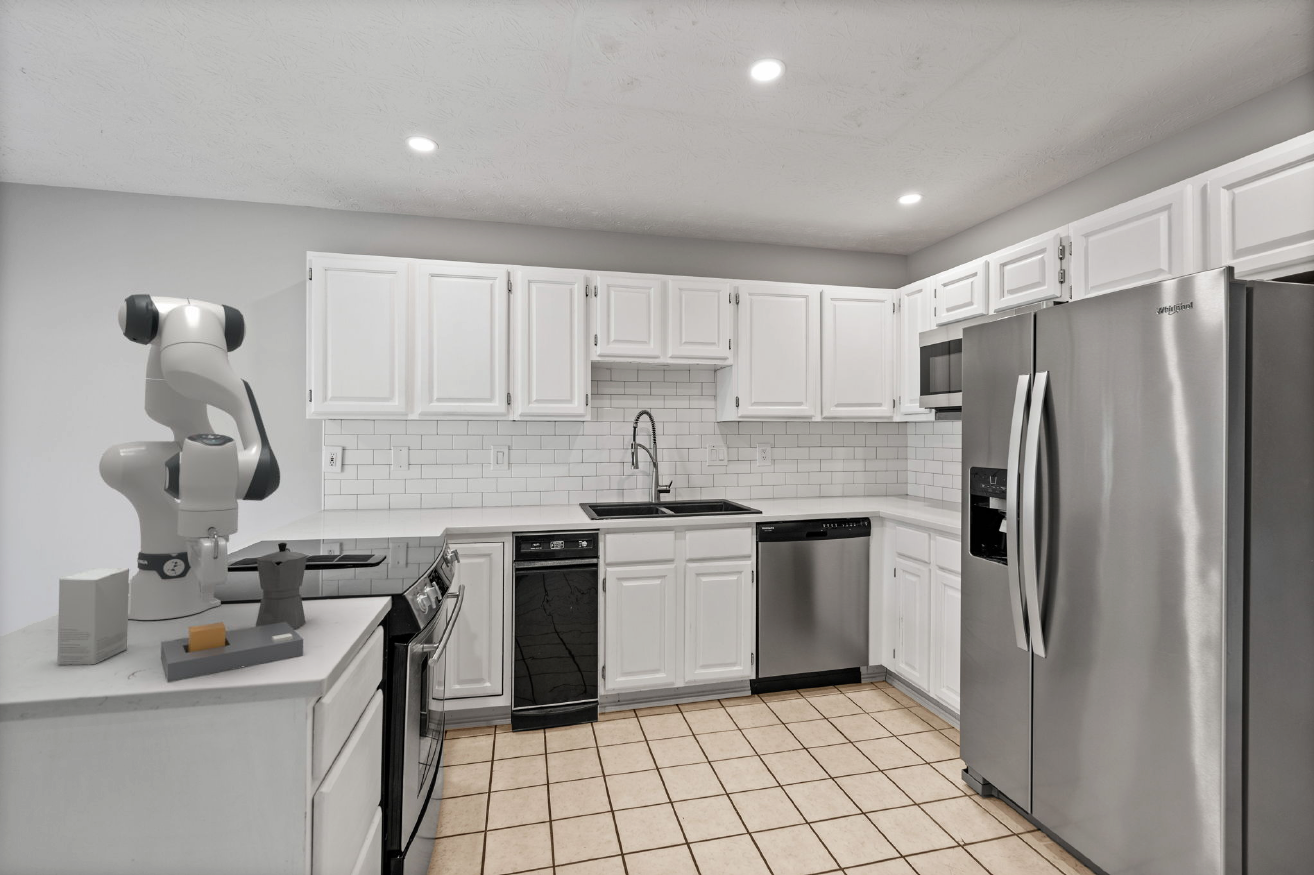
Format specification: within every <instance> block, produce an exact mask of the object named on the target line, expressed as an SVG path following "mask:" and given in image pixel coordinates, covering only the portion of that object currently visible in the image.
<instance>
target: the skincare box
mask: <svg viewBox="0 0 1314 875" xmlns="http://www.w3.org/2000/svg"><path fill="white" fill-rule="evenodd" d="M129 576H130V568H128V567H126V568H123V567H121V568H120V567H115V568H114V567H113V568H112V567H95V568H90V569H88V570H85V571H81V572H78V573H74V574H70V575H68V576H64V577H61V578H58V579H59V581H58V585H59V586H58V620H57V621H58V624H57V625H58V626H57V628H58V630H57V631H58V632H57V663H56V664H57V666H70V665H69V664H72V665H71V666H83V665H82V664H85V665H84V666H89V665H88V664H95V665H96V663H97V664H98V663H101V662H103V661H105V660H106V659H110V658H111V657H113V656H115V655H117V654H120V653H121V652H123V651H126V650H128V631H129V630H128V625H129V624H128V622H129V621H128V620H129V619H128V596H129V594H128V586H129V580H130V577H129ZM104 659H105V660H104ZM100 661H101V662H100ZM67 664H68V665H67ZM86 664H87V665H86Z"/></svg>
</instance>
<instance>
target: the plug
mask: <svg viewBox="0 0 1314 875" xmlns="http://www.w3.org/2000/svg"><path fill="white" fill-rule="evenodd" d="M225 632H226V626H225V624H224V622H222V621H221V622H220V621H219V622H215V623H209V624H202V625H195V626H194V625H193V626H189V627H188V638H189V646H188V652H194V651H199V650H205V649H211V648H217V647H222V646H225Z"/></svg>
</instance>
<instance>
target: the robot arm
mask: <svg viewBox="0 0 1314 875" xmlns="http://www.w3.org/2000/svg"><path fill="white" fill-rule="evenodd" d="M117 315H118V317H117V318H118V320H117V321H118V325H119V327H120V329H121V332H122V334H123V336H124V337H125V338H127V339H128V340H129V341H130V342H133V343H136V344H140V345H143V346H148V345H151V346H150V349H149V354H148V358H147V362H146V363H147V364H146V370H145V371H146V372H145V388H144V389H145V391H144V410H145V413H146V415H147V416H148V417H149V418H150V419H151V420H152V421H153V422H154V421H155V422H156V423H158V424H160V425H162V426H165V427H168V428H170V430H171V432H172V433H173V440H171V441H170V440H169V441H166V440H165V441H163V440H162V441H161V440H159V441H158V440H157V441H156V440H154V441H150V440H149V441H148V440H146V441H143V440H140V441H138V440H137V441H132V442H125V443H119V444H114V445H111V446H110V447H108V449H107V450H105V452H104V453H103V454H102V456H101V458H100V461H99V466H98V470H99V474H100V475H99V476H100V477H101V479H102V481H103V482H104V483H105V484H106V485H107V486H109V487H110V488H111V489H112V490H115V491H117V492H119V493H120V494H121V495H123V496H124V497H125V498H126V499H127V500H128V501H129V502H130V503H131V505H132V506H133V508H134V510H135V512H136V513H137V517H138V520H139V529H140V551H139V552H138V553H137V559H136V561H137V569H138V571H137V573H136V574H135V575H133V576H132V577H131V578H129V586H128V620H140V621H154V620H155V621H156V620H165V619H166V620H168V619H174V618H181V617H186V616H192V615H195V614H198V613H201V612H204V611H206V610H208V609H211V608H215V607H218V606H221V605H222V604H221V603H222V602H221V600H220V599H218V598H217V597H214V596H215V587H216V586H222V585H225V584H226V583H227V582H228V575H229V573H228V560H229V558H228V542H230V536H231V535H235V534H236V533H238V530H239V529H238V528H239V527H238V526H239V502H238V501H241V500H242V501H257V502H258V501H260V502H261V501H263V500H265V499H266V498H269V496H271V495H272V494H273V493H275V492H276V491H277V490H278V489H279V487H280V482H281V470H280V466H279V463H278V460H277V457H276V454H274V451H273V449H272V447H271V444H270V441H269V438H268V437H269V436H268V434H267V432H266V428H265V425H264V424H265V423H264V422H263V418H262V415H261V412H260V408H259V405H258V403H257V399H256V397H255V394H254V392H253V389H252V388H251V385H250V384H249V382H248V381H246V380H245V379H244V378H241V377H240V376H239V375H238V374H237V373H236V372H235V371H234V369H233V368H232V366H231V364H230V361H229V355H228V354H229V353H232V352H234V351H235V350H237V349H238V348H240V347H241V346H242V345H243V342H244V340H245V337H246V334H247V325H246V322H245V318H244V315H243V314H242V312H241V311H240V310H239V309H238V308H236V307H232V306H229V305H226V304H221V305H220V304H217V303H213V302H208V301H204V300H199V299H193V298H181V297H173V296H159V295H158V296H155V295H153V296H152V295H150V294H148V293H146V294H144V293H143V294H142V293H140V294H139V293H138V294H131V295H129V296H128V297H126V298H124V302H122V305H121V306H120V307H119V310H118V314H117ZM207 405H209V406H212V407H213V408H216V409H219V410H221V411H223V412H225V413H227V414H228V415H229V416H230V417H232V418H233V420H234V421H235V423H236V428H237V431H238V433H239V438H240V440H241V445H242V447H243V450H238V446H237V441H236V440H235V439H234V438H232V437H230V436H228V435H225V434H219V433H218V434H217V433H215V430H214V429H213V427H212V426H211V423H210V420H209V416H208V408H207V407H208V406H207ZM177 500H180V502H178V501H177Z"/></svg>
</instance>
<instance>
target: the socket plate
mask: <svg viewBox="0 0 1314 875" xmlns="http://www.w3.org/2000/svg"><path fill="white" fill-rule="evenodd" d="M188 646H189V637H183V638H177V639H171V640H165V641H161V642H160V660H161V663H162V664H161V665H162V667H164V668H163V671H164V674H165V678H166V680H167V683H170V682H174V681H179V680H183V679H185V680H186V679H189V678H195V677H200V676H205V675H209V674H215V673H219V672H225V671H224V670H226V671H230V670H234V669H233V668H236V669H240V668H239V667H241V668H243V667H242V666H246V667H250V666H249V665H251V666H255V665H260V664H265V663H271V662H275V661H276V660H277V661H281V660H280V659H282V660H287V659H290V658H289V657H292V658H297V657H301V656H304V639H303V637H302V636H301V635H300V634H299V633H298V632H297V631H296V629H293V628H292V627H291V626H290V625H289V624H288V623H287V622H282V623H276V624H270V625H263V626H257V627H256V626H252V627H247V628H246V627H245V628H240V629H239V628H238V629H234V630H229V631H228V630H227V631H226V630H225V646H222V647H217V648H211V649H205V650H199V651H194V652H188ZM296 656H297V657H296ZM286 658H287V659H286ZM270 661H271V662H270ZM277 661H276V662H277Z"/></svg>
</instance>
